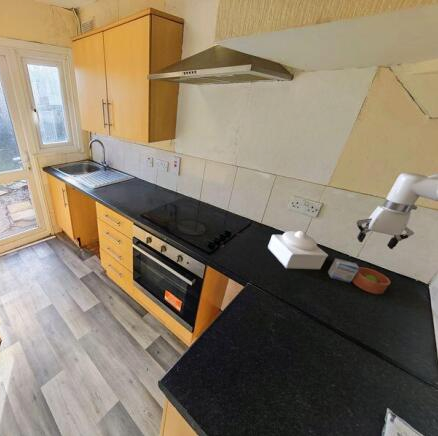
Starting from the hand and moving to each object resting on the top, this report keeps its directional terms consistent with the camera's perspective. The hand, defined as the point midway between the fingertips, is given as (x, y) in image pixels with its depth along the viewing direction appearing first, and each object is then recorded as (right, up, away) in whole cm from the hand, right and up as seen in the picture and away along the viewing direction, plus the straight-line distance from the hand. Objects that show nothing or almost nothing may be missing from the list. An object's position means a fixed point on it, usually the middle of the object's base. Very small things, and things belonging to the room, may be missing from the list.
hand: (374, 244), depth 93 cm
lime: (+5, -17, +7) cm, 19 cm away
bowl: (+5, -20, +8) cm, 22 cm away
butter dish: (-18, -10, +24) cm, 32 cm away
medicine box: (-4, -17, +12) cm, 22 cm away
